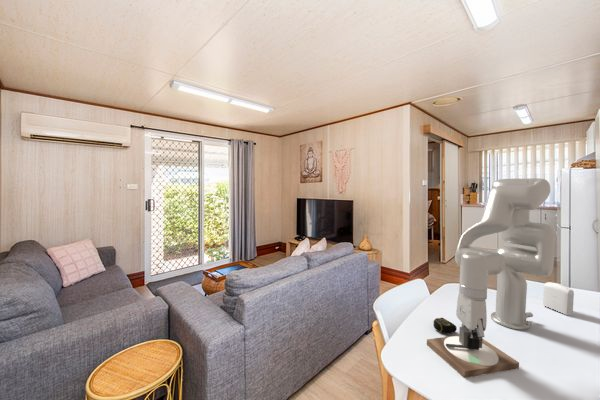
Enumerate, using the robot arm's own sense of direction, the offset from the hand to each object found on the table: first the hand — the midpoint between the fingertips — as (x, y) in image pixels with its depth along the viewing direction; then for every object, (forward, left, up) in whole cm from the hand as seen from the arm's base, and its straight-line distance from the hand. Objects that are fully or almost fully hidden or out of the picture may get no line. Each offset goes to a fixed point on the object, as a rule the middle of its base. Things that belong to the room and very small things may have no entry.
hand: (470, 344), depth 85 cm
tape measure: (-3, -15, -4) cm, 16 cm away
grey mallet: (+2, -1, -1) cm, 3 cm away
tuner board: (0, 0, -4) cm, 4 cm away
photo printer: (-67, -19, -4) cm, 70 cm away
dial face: (0, 0, -2) cm, 2 cm away
